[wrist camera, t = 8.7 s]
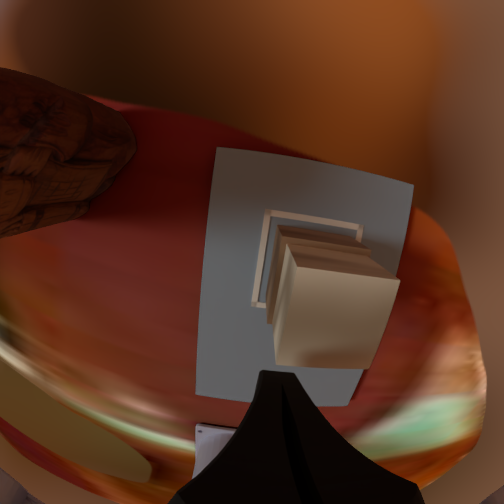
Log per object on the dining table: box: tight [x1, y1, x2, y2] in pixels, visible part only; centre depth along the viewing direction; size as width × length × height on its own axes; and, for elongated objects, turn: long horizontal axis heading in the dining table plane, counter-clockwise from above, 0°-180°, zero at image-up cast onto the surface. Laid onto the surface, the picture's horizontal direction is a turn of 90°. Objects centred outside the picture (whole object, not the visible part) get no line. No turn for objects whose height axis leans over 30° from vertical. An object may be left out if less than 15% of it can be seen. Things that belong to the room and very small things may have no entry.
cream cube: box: [272, 244, 400, 369], centre depth 13 cm, size 4×4×4 cm
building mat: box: [196, 147, 414, 406], centre depth 19 cm, size 20×14×1 cm
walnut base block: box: [265, 225, 371, 324], centre depth 16 cm, size 5×5×4 cm
